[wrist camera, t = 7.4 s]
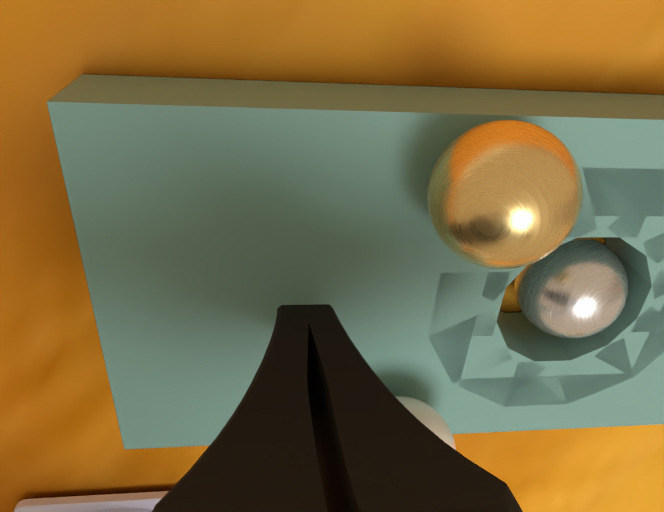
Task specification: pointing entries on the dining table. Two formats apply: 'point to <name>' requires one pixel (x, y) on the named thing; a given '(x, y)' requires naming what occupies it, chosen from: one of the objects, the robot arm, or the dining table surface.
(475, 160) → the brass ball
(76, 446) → the dining table surface
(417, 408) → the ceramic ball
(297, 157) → the bearing plate
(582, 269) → the steel ball
